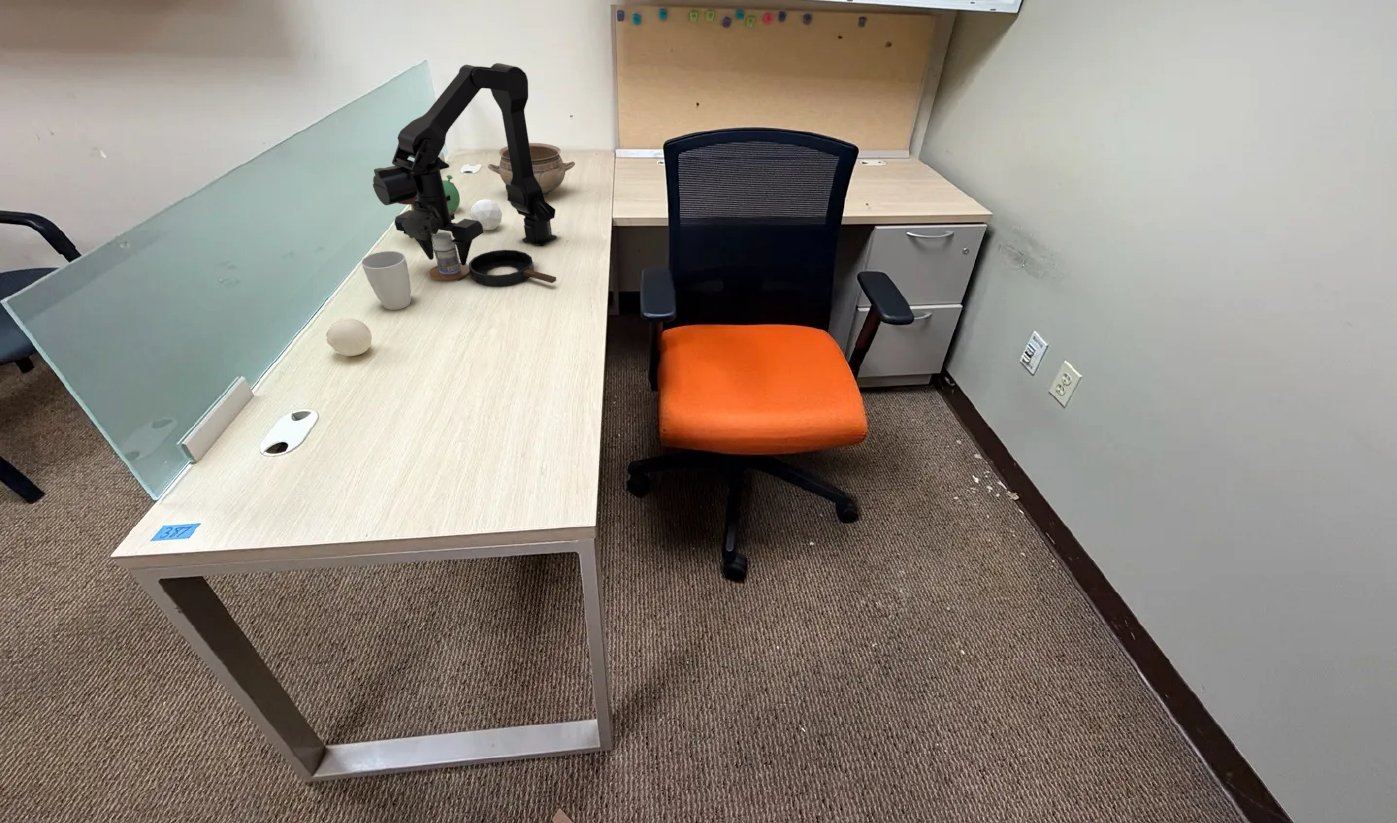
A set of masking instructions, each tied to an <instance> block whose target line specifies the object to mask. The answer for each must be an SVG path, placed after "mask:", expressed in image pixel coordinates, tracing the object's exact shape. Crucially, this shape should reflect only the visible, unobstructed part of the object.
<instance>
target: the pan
mask: <svg viewBox="0 0 1397 823" xmlns="http://www.w3.org/2000/svg"><path fill="white" fill-rule="evenodd" d="M468 266H469V270H470V274H469V275H470V279H472V281H473V282H474V283H476V284H478V285H481V286H484V287H496V288H501V287H510V286H515V285H517V284H520V283H523V282H525V281H527V280H528V279H531V278H532V279H536V280H538V281H539V280H540V281H543V282H546V283H550V284H554V283H555V282H556V281H557V277H556V276H554V275H550V274H547V273H544V272H540V271H537V270H535V267H534V262H533V257H532V256H531V255H530V254H528V253H526V252H523V251H520V250H515V249H498V250H497V249H496V250H490V251H486V252H482V253H480V254H479V255H476V256H475V257H473V258H472V259H471V260H470V261H469V262H468ZM500 267H510V268H513V269H516V270H517V271H513V272H511V273H506V274H488V273H489V272H490V271H491V270H493V269H497V268H500Z"/></svg>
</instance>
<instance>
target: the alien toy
mask: <svg viewBox="0 0 1397 823" xmlns="http://www.w3.org/2000/svg"><path fill="white" fill-rule="evenodd" d="M446 178H447V179H442V181H443V186H444V190H445V194H446V195H450V198H451V200H449V201H448V202H447V203H448V207H449V211H450V213H452V212H455V211H456V210H457V209H458V208H459V207H460V202H461V198H460V193H459V190H458V188H457V186H456V185H455V183H454V182H451V180H452V179H453V176H452V175H450V174H448V175H446Z"/></svg>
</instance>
